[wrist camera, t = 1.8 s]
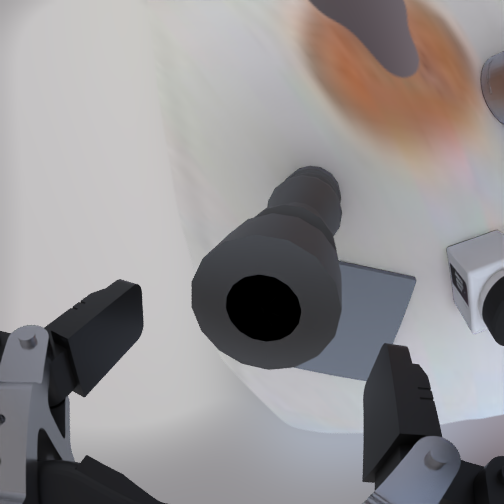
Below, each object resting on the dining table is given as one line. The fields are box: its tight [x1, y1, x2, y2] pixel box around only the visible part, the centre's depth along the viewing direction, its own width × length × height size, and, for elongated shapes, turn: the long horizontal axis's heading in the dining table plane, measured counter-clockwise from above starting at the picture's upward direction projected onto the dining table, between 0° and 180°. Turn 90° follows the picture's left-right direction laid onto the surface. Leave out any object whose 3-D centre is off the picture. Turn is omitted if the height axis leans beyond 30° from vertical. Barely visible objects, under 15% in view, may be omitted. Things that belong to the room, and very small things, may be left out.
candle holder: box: [192, 166, 342, 370], centre depth 23 cm, size 6×6×25 cm
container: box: [447, 230, 504, 346], centre depth 26 cm, size 8×8×13 cm
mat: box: [295, 261, 416, 381], centre depth 38 cm, size 16×16×1 cm
